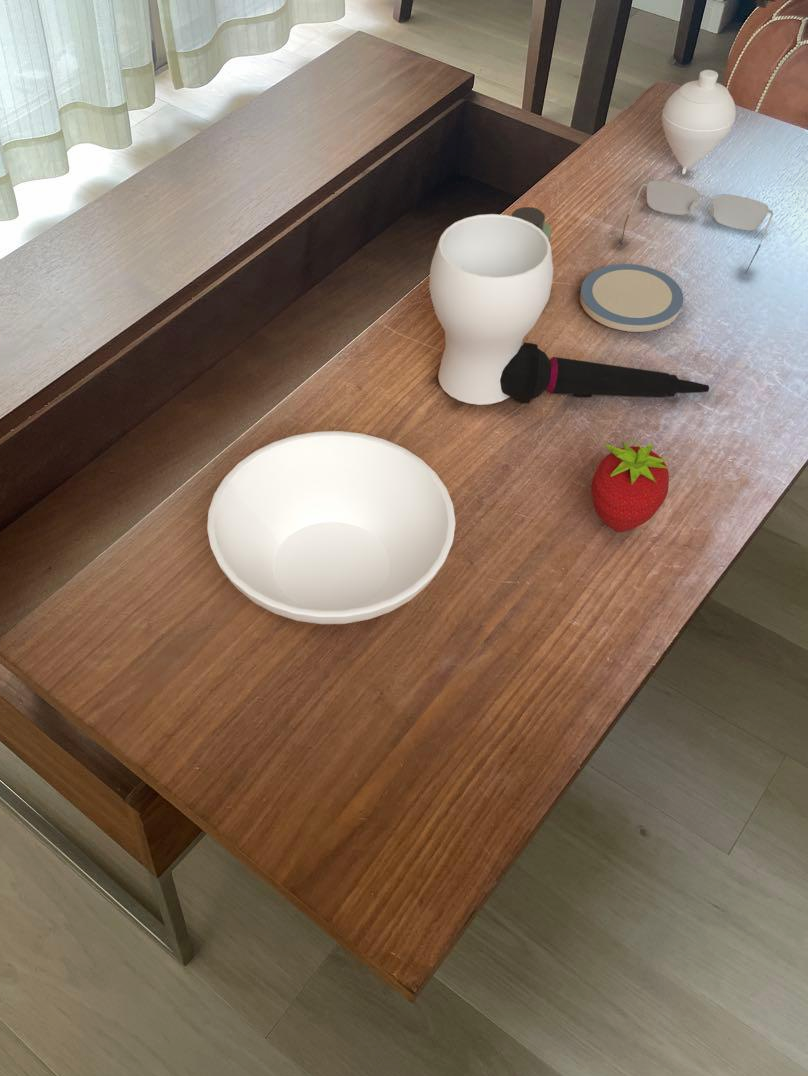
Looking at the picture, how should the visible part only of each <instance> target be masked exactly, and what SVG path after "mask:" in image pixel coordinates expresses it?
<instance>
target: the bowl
mask: <svg viewBox="0 0 808 1076" xmlns="http://www.w3.org/2000/svg"><path fill="white" fill-rule="evenodd" d="M207 513H208V514H207V527H206V530H207V535H208V540H209V545H210V549H211V551H212V553H213V555H214V557H215V559H216V562H217V564H218V566H219V568H220V569H221V571H222V572H223V573H224V575H225V576H226V577H227V578H228V580H229V581H230V582H231V584H233V586H234V587H235V588H236V589H237V590H238V591H239V592H240V593H241V594H242V595H244V596H245V597H247V599H249V600H250V601H251V602H253V603H254V604H256V605H257V606H259V607H261V608H263V609H265V610H267V611H269V612H270V613H273V614H274V615H278V616H281V617H284V618H287V619H290V620H293V621H296V622H302V623H310V624H317V625H345V624H352V623H357V622H362V621H368V620H369V621H370V620H371V619H374V618H377V617H380V616H382V615H383V616H384V615H385V614H388V613H391V612H393V611H395V610H396V609H398V608H400V607H402V606H403V605H405V604H407V603H409V602H410V601H412V600H413V599H414V598H415V597H416V596H417V595H418V594H420V593H421V592H422V591H423V590H424V589H426V587H428V586H429V584H430V583H431V582H432V581H433V579H434V578H435V577H436V575H437V574H438V573H439V572H440V570H441V569H442V567H443V566H444V564H445V561H446V560H447V557H448V555H449V552H450V550H451V547H452V546H453V543H454V537H455V531H456V517H455V516H456V515H455V507H454V504H453V501H452V499H451V496H450V493H449V491H448V488H447V486H446V485H445V484H444V482H443V481H442V480H441V478H440V476H439V475H438V474H437V472H436V471H434V469H433V468H432V467H431V466H429V464H427V463H426V462H425V461H424V459H422V458H420V457H419V456H418V455H416V454H414V453H413V452H412V451H409V450H408V449H407V448H405V447H403V446H400V445H398V444H396V443H393V442H391V441H389V440H387V439H385V438H380V437H377V436H372V435H369V434H366V433H361V432H352V431H343V430H330V431H329V430H328V431H327V430H326V431H313V432H312V431H311V432H307V433H301V434H294V435H292V436H288V437H285V438H281V439H279V440H275V441H273V442H271V443H269V444H266V445H265V446H263V447H261V448H259V449H256V450H254V451H253V452H252V453H251V454H249V455H247V456H246V457H245V458H243V459H242V460H241V461H239V462H238V463H237V464H236V465H235V466H234V467H233V468H232V469H231V470H230V471H229V472H228V473H227V474H226V475H225V476H224V477H223V479H222V481H221V482H220V484H219V485H218V487H217V489H216V490H215V492H214V493H213V497H212V499H211V503H210V506H209V508H208V512H207Z"/></svg>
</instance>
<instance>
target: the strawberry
mask: <svg viewBox="0 0 808 1076" xmlns="http://www.w3.org/2000/svg"><path fill="white" fill-rule="evenodd" d="M631 440H632V441H633V442H634V443H635V444H636V445H637V446H635V445H632V446H629V445H628V444H627V443H626V442H624V441H621V445H622V447H621V448H619V447H616V446H613V445H609V444H607V443H604V447H605V448H606V449H607V450H608V451H610V453H608V454H607V455H606V456H604V457H603V459H601V461H600V462H599V463H598V465H597V467H596V469H595V471H594V473H593V475H592V479H591V482H590V492H591V499H592V506H593V509H594V511H595V513H596V514H597V516H598V517H599V518H600V519H601V520H602V522H603V523H605V525H606V526H607V527H609V528H610V529H612V530H613V531H615V532H616V533H624V532H628V531H632V530H634V529H636V528H638V527H640V526H641V525H644V524H645V523H647V522H648V521H650V520H651V519H652V518H653V516H655V514H656V513H657V512H658V511H659V510H660V508H661V507H662V505H663V504H664V503H665V500H666V498H667V496H668V494H669V484H670V474H669V473H670V472H669V468H670V467H668V466H667V464H666V462H667V461H668V460H667V459H663V458H662V457H661V456H659V454H657V453H656V452H654V451H653V450H652V449H653V448H654V445H655V444H656V443H655V442H653V443H650V444H648V445H645V446H644V447H642V446H641V445H640V443H638V442H637V441H636V440H635V439H634V438H631Z"/></svg>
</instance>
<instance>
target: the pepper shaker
mask: <svg viewBox="0 0 808 1076" xmlns="http://www.w3.org/2000/svg"><path fill="white" fill-rule="evenodd" d="M511 216H512V217H517V218H520V219H523V220H525V221H528V222H530V223H532V224H534V225H535V226H536V227H538V228H539V229H541V230H542V231H543V233H544V234H545V235H546V236H547V237H548V240H549V243H550V242H551V235H552V229H551V226H550V225H549V223H548V222H546V221H545V220H546V215H545V213H544V212H543V211H542V210H540V209H538V208H536V207H530V206H524V207H523V206H522V207H519V208H516V209H515V210H514V211H513V212H512V213H511Z"/></svg>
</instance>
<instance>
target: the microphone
mask: <svg viewBox="0 0 808 1076" xmlns="http://www.w3.org/2000/svg"><path fill="white" fill-rule="evenodd" d="M500 384H501V390H502V392H503V393H504V394H506V395H508V396H510V397H509V398H513V399H515V401H516V402H517V403H520V404H530V402H531V401H532V400H534V399H536V398H538V397H539V398H540V396H541V395H542V394H544V392H545V391H546V392H547V393H549V394H552V395H572V396H574V397H576V398H592V397H593V396H611V397H613V396H619V397H649V398H666V397H675V396H676V394H693V393H708V392H709V390H710V386H709V385H707V384H703V383H699V382H696V381H692V380H687V379H686V380H685V379H679V378H678V376H677V375H676V374H670V373H668V372H662V371H655V370H647V369H641V368H636V367H635V368H633V367H627V366H621V365H620V366H619V365H612V364H607V363H599V362H592V361H584V360H578V359H572V358H564V357H558V356H552V357H551V358H549V357H548V355H547V353H546V352H544V350H542V349H539V347H538V344H537V343H532V342H526V341H525V342H524V341H523V343H522V344H521V347H520V349H519V351H518V352H517V354H516V355H515V356H514V357H513V358H512V359H511V360H510V361H509V363H508V364H507V365H506V367H505V368H504V370H503V372H502V375H501V378H500Z"/></svg>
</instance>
